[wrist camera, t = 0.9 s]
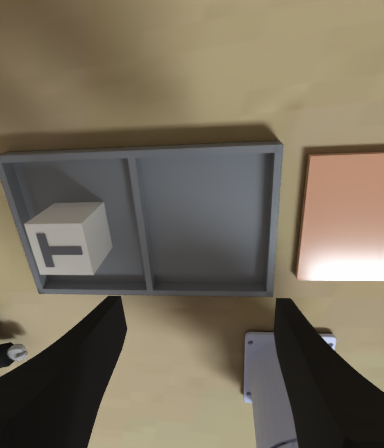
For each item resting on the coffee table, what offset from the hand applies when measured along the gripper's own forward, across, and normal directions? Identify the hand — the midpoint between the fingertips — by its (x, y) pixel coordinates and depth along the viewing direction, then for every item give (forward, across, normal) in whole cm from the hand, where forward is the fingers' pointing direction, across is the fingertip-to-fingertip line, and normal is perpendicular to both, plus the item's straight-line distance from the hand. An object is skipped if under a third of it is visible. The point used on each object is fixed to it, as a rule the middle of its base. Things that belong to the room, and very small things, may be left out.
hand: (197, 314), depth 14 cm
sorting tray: (+10, +5, 0) cm, 11 cm away
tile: (+10, -12, 0) cm, 16 cm away
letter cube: (+10, +10, 0) cm, 14 cm away
